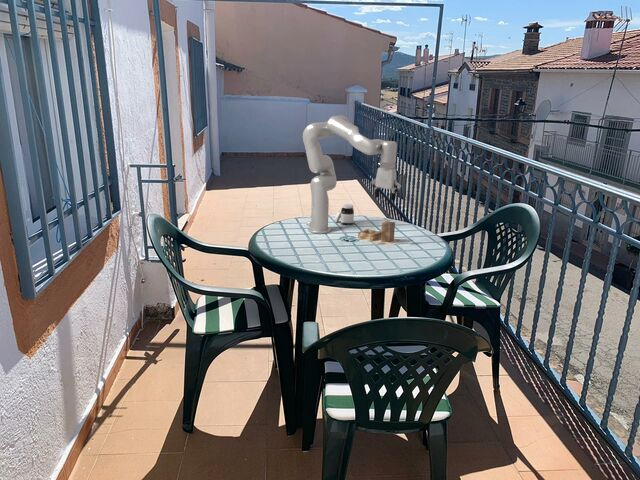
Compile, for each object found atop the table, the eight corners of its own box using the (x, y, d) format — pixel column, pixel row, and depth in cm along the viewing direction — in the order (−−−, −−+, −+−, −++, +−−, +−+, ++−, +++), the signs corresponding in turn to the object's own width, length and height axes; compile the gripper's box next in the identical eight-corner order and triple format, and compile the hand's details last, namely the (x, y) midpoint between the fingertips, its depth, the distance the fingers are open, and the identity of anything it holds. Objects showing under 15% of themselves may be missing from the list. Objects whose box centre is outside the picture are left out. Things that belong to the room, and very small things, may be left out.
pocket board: (353, 239, 270) (354, 232, 269) (368, 234, 281) (368, 227, 280) (389, 247, 257) (390, 240, 256) (403, 242, 268) (403, 235, 267)
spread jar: (354, 226, 299) (355, 206, 296) (335, 225, 299) (335, 206, 296) (352, 221, 311) (352, 202, 308) (333, 221, 310) (334, 202, 307)
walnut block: (380, 240, 265) (381, 222, 263) (385, 239, 269) (386, 220, 266) (389, 242, 262) (390, 224, 260) (393, 240, 266) (395, 222, 263)
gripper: (369, 164, 258) (366, 197, 263) (398, 168, 248) (395, 202, 253) (376, 163, 264) (374, 195, 269) (406, 167, 254) (403, 200, 259)
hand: (384, 198), depth 261 cm, fingers open, 9 cm apart
